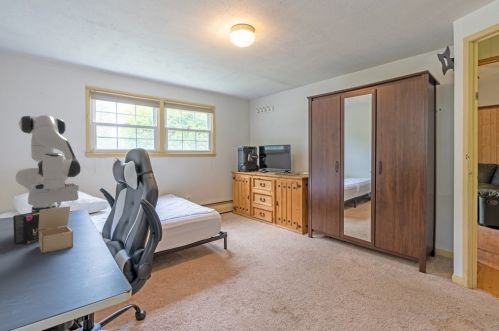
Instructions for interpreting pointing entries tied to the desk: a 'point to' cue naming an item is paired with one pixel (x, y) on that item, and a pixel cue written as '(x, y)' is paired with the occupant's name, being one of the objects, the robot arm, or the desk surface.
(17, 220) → the tampon box
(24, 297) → the desk surface
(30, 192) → the robot arm
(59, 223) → the lid
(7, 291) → the desk surface
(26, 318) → the desk surface
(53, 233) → the carton
